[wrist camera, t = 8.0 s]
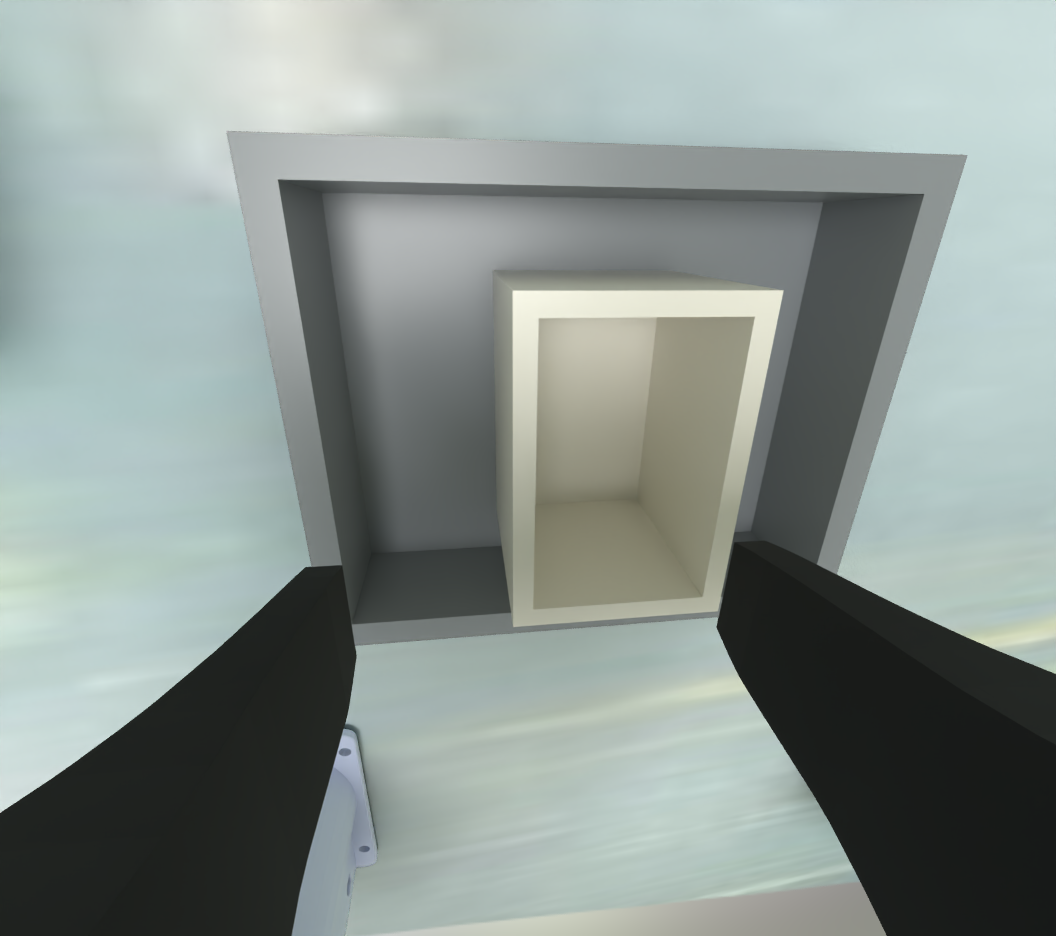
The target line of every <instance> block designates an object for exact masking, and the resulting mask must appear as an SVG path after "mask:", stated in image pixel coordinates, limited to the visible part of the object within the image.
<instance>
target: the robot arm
mask: <svg viewBox="0 0 1056 936" xmlns="http://www.w3.org/2000/svg"><path fill="white" fill-rule="evenodd" d="M717 630H718V632H719V634H720V636H721V639H722V641H723V643H724V645H725V648H726V650H727V652H728V655H729V657H730V659H731V661H732V663H733V665H734V667H735V669H736V671H737V673H738V675H739V677H740V679H741V680H742V682H743V684H744V685H745V687H746V689H747V690H748V692H749V693H750V695H751V697H752V698H753V700H754V701H755V703H756V705H757V706H758V708H759V710H760V711H761V713H762V714H763V716H764V718H765V719H766V721H767V722H768V724H769V725H770V727H771V729H772V730H773V732H774V733H775V735H776V736H777V738H778V740H779V741H780V743H781V744H782V746H783V747H784V749H785V751H786V752H787V754H788V755H789V757H790V758H791V760H792V762H793V763H794V765H795V766H796V768H797V769H798V771H799V773H800V774H801V776H802V777H803V779H804V780H805V782H806V784H807V785H808V787H809V788H810V790H811V792H812V793H813V795H814V797H815V798H816V800H817V802H818V803H819V805H820V807H821V808H822V810H823V812H824V814H825V815H826V817H827V819H828V820H829V822H830V824H831V826H832V828H833V830H834V832H835V834H836V836H837V838H838V839H839V841H840V843H841V845H842V847H843V849H844V851H845V853H846V855H847V857H848V859H849V861H850V863H851V865H852V866H853V868H854V870H855V872H856V874H857V876H858V878H859V880H860V882H861V884H862V886H863V888H864V890H865V892H866V894H867V896H868V898H869V900H870V902H871V904H872V906H873V908H874V910H875V912H876V914H877V916H878V918H879V921H880V923H881V924H882V927H883V929H884V931H885V933H886V935H887V936H1056V674H1054V673H1052V672H1049V671H1047V670H1044V669H1042V668H1039V667H1037V666H1034V665H1032V664H1029V663H1027V662H1024V661H1022V660H1019V659H1017V658H1014V657H1012V656H1009V655H1007V654H1004V653H1002V652H999V651H997V650H995V649H992V648H990V647H988V646H985V645H983V644H981V643H978V642H976V641H974V640H971V639H969V638H967V637H964V636H962V635H960V634H958V633H956V632H954V631H951V630H949V629H947V628H945V627H943V626H941V625H938V624H936V623H934V622H932V621H930V620H928V619H925V618H923V617H921V616H919V615H917V614H915V613H913V612H911V611H909V610H906V609H904V608H902V607H900V606H898V605H896V604H894V603H892V602H890V601H888V600H886V599H884V598H882V597H880V596H878V595H876V594H874V593H872V592H870V591H868V590H866V589H864V588H862V587H860V586H858V585H856V584H854V583H852V582H850V581H848V580H846V579H844V578H842V577H840V576H838V575H836V574H835V573H833V572H831V571H829V570H827V569H825V568H823V567H821V566H819V565H817V564H815V563H813V562H811V561H809V560H807V559H805V558H803V557H801V556H799V555H797V554H795V553H793V552H790V551H788V550H786V549H784V548H782V547H779V546H777V545H775V544H772V543H770V542H767V541H765V540H763V541H746V542H734V546H733V551H732V556H731V560H730V565H729V570H728V575H727V580H726V584H725V589H724V594H723V599H722V604H721V608H720V613H719V618H718V623H717ZM355 663H356V649H355V643H354V636H353V630H352V624H351V617H350V611H349V605H348V598H347V592H346V586H345V579H344V573H343V567H342V565H334V566H317V567H305V568H304V569H303V570H302V571H301V572H300V573H299V574H298V575H296V576H295V577H294V578H293V579H292V580H291V581H290V582H289V583H288V584H287V585H286V586H285V587H284V588H283V589H282V590H281V591H280V592H279V593H278V594H276V595H275V596H274V597H273V598H272V599H271V600H270V601H269V602H268V603H267V604H266V605H265V606H264V607H263V608H262V609H261V610H260V611H259V612H258V613H256V614H255V615H254V616H253V617H252V618H251V619H250V620H249V621H248V622H247V623H246V624H245V625H243V626H242V627H241V628H240V629H239V630H238V631H237V632H236V633H235V634H234V635H233V636H232V637H230V638H229V639H228V640H227V641H226V642H225V643H224V644H223V645H222V646H221V647H219V648H218V649H217V650H216V651H215V652H214V653H213V654H211V655H210V656H209V657H208V658H207V659H205V660H204V661H203V662H202V663H201V664H200V665H198V666H197V667H196V668H195V669H194V670H192V671H191V672H190V673H189V674H188V675H187V676H185V677H184V678H183V679H182V680H181V681H179V682H178V683H177V684H176V685H175V686H174V687H172V688H171V689H170V690H169V691H168V692H166V693H165V694H164V695H163V696H162V697H161V698H159V699H158V700H157V701H156V702H154V703H153V704H152V705H151V706H149V707H148V708H147V709H146V710H144V711H143V712H142V713H141V714H139V715H138V716H137V717H135V718H134V719H133V720H131V721H130V722H129V723H128V724H126V725H125V726H124V727H122V728H121V729H120V730H118V731H117V732H116V733H114V734H113V735H112V736H110V737H109V738H108V739H106V740H105V741H103V742H102V743H101V744H99V745H98V746H97V747H95V748H94V749H93V750H91V751H90V752H88V753H87V754H86V755H84V756H83V757H82V758H80V759H79V760H78V761H76V762H75V763H73V764H72V765H71V766H69V767H68V768H66V769H65V770H63V771H62V772H61V773H59V774H58V775H56V776H55V777H54V778H52V779H51V780H49V781H48V782H46V783H45V784H43V785H42V786H40V787H39V788H37V789H36V790H34V791H33V792H31V793H30V794H28V795H26V796H25V797H23V798H22V799H20V800H19V801H17V802H16V803H14V804H13V805H11V806H10V807H8V808H7V809H5V810H4V811H2V812H1V813H0V936H345V934H346V927H347V921H348V915H349V909H350V902H351V896H352V890H353V884H354V878H355V871H356V868H359V867H367V866H371V865H373V864H375V862H376V861H377V855H378V850H377V845H376V839H375V834H374V828H373V823H372V817H371V812H370V806H369V801H368V795H367V790H366V784H365V779H364V773H363V768H362V763H361V757H360V752H359V746H358V741H357V736H356V734H355V733H354V732H353V731H352V730H349V729H344V725H345V722H346V718H347V714H348V709H349V703H350V697H351V691H352V684H353V677H354V670H355Z"/></svg>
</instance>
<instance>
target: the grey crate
mask: <svg viewBox="0 0 1056 936" xmlns="http://www.w3.org/2000/svg"><path fill="white" fill-rule="evenodd" d="M226 132H227V137H228V142H229V147H230V153H231V158H232V163H233V168H234V173H235V178H236V183H237V188H238V193H239V198H240V204H241V209H242V214H243V219H244V224H245V229H246V234H247V239H248V244H249V249H250V255H251V260H252V265H253V270H254V275H255V280H256V285H257V290H258V295H259V300H260V306H261V311H262V316H263V321H264V326H265V331H266V336H267V341H268V346H269V352H270V357H271V362H272V367H273V372H274V377H275V382H276V387H277V392H278V397H279V403H280V408H281V413H282V418H283V423H284V428H285V433H286V438H287V443H288V448H289V454H290V459H291V464H292V469H293V474H294V479H295V484H296V489H297V494H298V500H299V505H300V510H301V515H302V520H303V525H304V530H305V535H306V540H307V545H308V551H309V556H310V561H311V566H312V567H317V566H334V565H342V567H343V573H344V579H345V586H346V592H347V598H348V605H349V611H350V617H351V624H352V630H353V636H354V643H355V646H357V645H370V644H383V643H395V642H408V641H421V640H433V639H446V638H458V637H471V636H484V635H496V634H509V633H522V632H534V631H547V630H560V629H572V628H585V627H598V626H610V625H623V624H636V623H648V622H661V621H674V620H686V619H699V618H712V617H719V613H720V608H721V604H722V599H723V594H724V589H725V584H726V580H727V575H728V570H729V565H730V560H731V556H732V551H733V546H734V542H746V541H763V540H765V541H767V542H770V543H772V544H775V545H777V546H779V547H782V548H784V549H786V550H788V551H790V552H793V553H795V554H797V555H799V556H801V557H803V558H805V559H807V560H809V561H811V562H813V563H815V564H817V565H819V566H821V567H823V568H825V569H827V570H829V571H831V572H833V573H835V574H836V575H837V572H838V569H839V565H840V562H841V559H842V556H843V553H844V549H845V546H846V543H847V540H848V537H849V533H850V530H851V527H852V524H853V520H854V517H855V514H856V511H857V508H858V504H859V501H860V498H861V495H862V492H863V488H864V485H865V482H866V479H867V476H868V472H869V469H870V466H871V463H872V460H873V456H874V453H875V450H876V447H877V444H878V440H879V437H880V434H881V431H882V428H883V424H884V421H885V418H886V415H887V412H888V408H889V405H890V402H891V399H892V396H893V392H894V389H895V386H896V383H897V380H898V376H899V373H900V370H901V367H902V363H903V360H904V357H905V354H906V351H907V347H908V344H909V341H910V338H911V335H912V331H913V328H914V325H915V322H916V319H917V315H918V312H919V309H920V306H921V303H922V299H923V296H924V293H925V290H926V287H927V283H928V280H929V277H930V274H931V271H932V267H933V264H934V261H935V258H936V255H937V251H938V248H939V245H940V242H941V239H942V235H943V232H944V229H945V226H946V223H947V219H948V216H949V213H950V210H951V206H952V203H953V200H954V197H955V194H956V190H957V187H958V184H959V181H960V178H961V174H962V171H963V168H964V165H965V162H966V158H967V155H948V154H917V153H886V152H855V151H825V150H794V149H763V148H732V147H702V146H671V145H640V144H610V143H579V142H548V141H517V140H487V139H456V138H425V137H394V136H364V135H333V134H302V133H272V132H241V131H226ZM493 270H622V271H675V272H681V273H687V274H693V275H698V276H704V277H710V278H716V279H721V280H727V281H733V282H738V283H744V284H750V285H756V286H761V287H767V288H773V289H778V290H784V291H783V296H782V301H781V306H780V311H779V316H778V320H777V325H776V330H775V335H774V340H773V345H772V350H771V355H770V360H769V364H768V369H767V374H766V379H765V384H764V389H763V394H762V399H761V403H760V408H759V413H758V418H757V423H756V428H755V433H754V438H753V443H752V447H751V452H750V457H749V462H748V467H747V472H746V477H745V482H744V486H743V491H742V496H741V501H740V506H739V511H738V516H737V521H736V526H735V530H734V535H733V540H732V545H731V550H730V555H729V560H728V565H727V569H726V574H725V579H724V584H723V589H722V594H721V599H720V604H719V609H718V611H715V612H702V613H689V614H676V615H663V616H651V617H638V618H625V619H612V620H599V621H586V622H573V623H560V624H547V625H534V626H521V627H513V623H512V616H511V608H510V601H509V594H508V587H507V580H506V573H505V566H504V559H503V551H502V544H501V537H500V530H499V523H498V516H497V493H496V431H495V369H494V307H493Z"/></svg>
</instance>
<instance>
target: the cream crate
mask: <svg viewBox="0 0 1056 936" xmlns="http://www.w3.org/2000/svg"><path fill="white" fill-rule="evenodd" d="M783 291H784V290H778V289H773V288H767V287H761V286H756V285H750V284H744V283H738V282H733V281H727V280H721V279H716V278H710V277H704V276H698V275H693V274H687V273H681V272H675V271H622V270H493V307H494V369H495V431H496V493H497V516H498V523H499V530H500V537H501V544H502V551H503V559H504V566H505V573H506V580H507V587H508V594H509V601H510V608H511V616H512V623H513V627H521V626H534V625H547V624H560V623H573V622H586V621H599V620H612V619H625V618H638V617H651V616H663V615H676V614H689V613H702V612H715V611H718V609H719V604H720V599H721V594H722V589H723V584H724V579H725V574H726V569H727V565H728V560H729V555H730V550H731V545H732V540H733V535H734V530H735V526H736V521H737V516H738V511H739V506H740V501H741V496H742V491H743V486H744V482H745V477H746V472H747V467H748V462H749V457H750V452H751V447H752V443H753V438H754V433H755V428H756V423H757V418H758V413H759V408H760V403H761V399H762V394H763V389H764V384H765V379H766V374H767V369H768V364H769V360H770V355H771V350H772V345H773V340H774V335H775V330H776V325H777V320H778V316H779V311H780V306H781V301H782V296H783Z"/></svg>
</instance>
